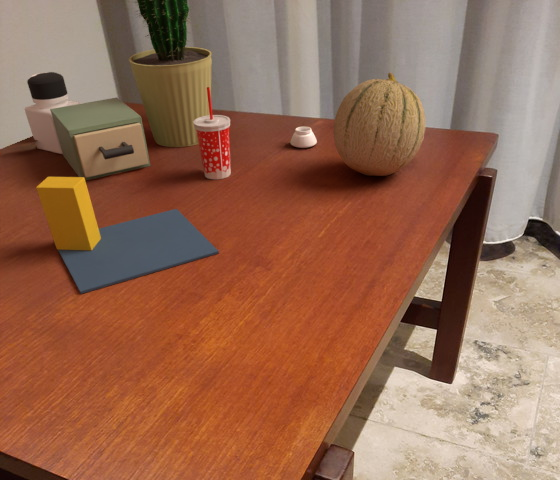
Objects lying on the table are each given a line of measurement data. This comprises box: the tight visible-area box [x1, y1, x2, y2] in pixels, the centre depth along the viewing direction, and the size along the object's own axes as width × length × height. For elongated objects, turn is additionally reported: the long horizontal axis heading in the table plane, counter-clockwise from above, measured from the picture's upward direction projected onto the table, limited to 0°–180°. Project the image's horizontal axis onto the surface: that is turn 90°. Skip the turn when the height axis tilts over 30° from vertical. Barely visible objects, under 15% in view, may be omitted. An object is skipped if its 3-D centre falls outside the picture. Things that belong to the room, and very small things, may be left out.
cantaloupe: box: [333, 72, 426, 177], centre depth 90 cm, size 15×15×15 cm
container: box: [24, 71, 82, 155], centre depth 107 cm, size 8×8×13 cm
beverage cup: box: [193, 87, 232, 180], centre depth 93 cm, size 6×6×14 cm
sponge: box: [36, 176, 101, 251], centre depth 76 cm, size 4×5×9 cm
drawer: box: [74, 123, 149, 178], centre depth 99 cm, size 18×11×7 cm, turn 29°
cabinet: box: [50, 97, 151, 181], centre depth 101 cm, size 15×13×9 cm
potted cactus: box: [128, 0, 213, 148], centre depth 103 cm, size 15×15×30 cm
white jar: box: [289, 126, 318, 149], centre depth 106 cm, size 5×3×5 cm
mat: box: [53, 208, 220, 295], centre depth 78 cm, size 19×16×1 cm
